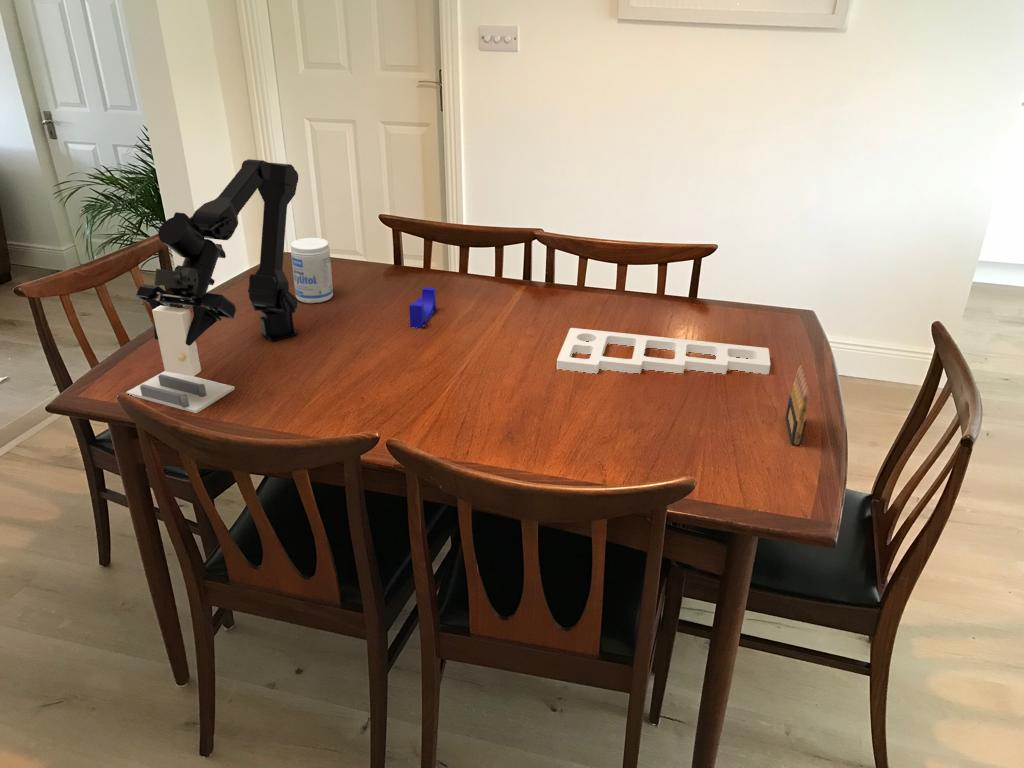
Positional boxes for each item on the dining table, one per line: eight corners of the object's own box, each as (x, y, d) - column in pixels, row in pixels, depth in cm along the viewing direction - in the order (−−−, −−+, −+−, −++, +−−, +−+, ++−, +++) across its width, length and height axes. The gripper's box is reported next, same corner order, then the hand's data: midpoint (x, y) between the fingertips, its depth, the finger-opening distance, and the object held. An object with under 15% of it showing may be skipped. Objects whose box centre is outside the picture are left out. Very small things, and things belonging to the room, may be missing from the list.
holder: (766, 358, 184) (768, 348, 182) (770, 396, 168) (772, 384, 167) (569, 338, 192) (570, 327, 191) (556, 371, 177) (556, 360, 176)
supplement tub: (291, 304, 208) (284, 248, 201) (301, 290, 216) (295, 236, 209) (329, 304, 207) (323, 249, 200) (337, 291, 216) (332, 237, 209)
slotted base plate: (167, 372, 173) (165, 360, 172) (234, 389, 167) (232, 376, 166) (126, 394, 164) (123, 382, 163) (196, 413, 158) (193, 400, 157)
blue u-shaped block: (418, 309, 206) (418, 286, 203) (436, 310, 205) (435, 288, 203) (404, 327, 196) (403, 304, 193) (422, 329, 195) (421, 306, 192)
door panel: (172, 366, 161) (160, 305, 155) (201, 370, 159) (189, 309, 153) (161, 374, 158) (147, 312, 152) (189, 379, 156) (177, 316, 150)
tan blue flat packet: (785, 417, 160) (795, 362, 154) (795, 418, 159) (806, 363, 154) (791, 445, 150) (802, 388, 145) (801, 446, 150) (813, 389, 144)
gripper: (131, 244, 154) (103, 320, 150) (217, 254, 149) (190, 333, 145) (166, 270, 164) (140, 341, 160) (247, 280, 160) (223, 354, 155)
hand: (172, 342), depth 155 cm, fingers closed on door panel, 6 cm apart
